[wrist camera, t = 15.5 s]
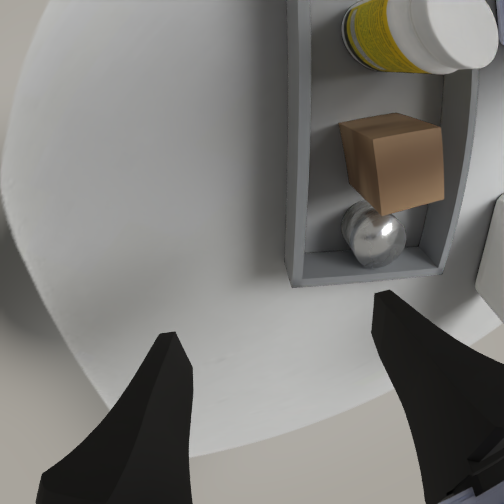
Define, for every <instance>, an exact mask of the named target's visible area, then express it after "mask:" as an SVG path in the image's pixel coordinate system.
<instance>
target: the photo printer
mask: <svg viewBox="0 0 504 504" xmlns="http://www.w3.org/2000/svg"><path fill="white" fill-rule="evenodd" d="M475 289H476V291H477V292H478V294H479V295H480V296H481V297H482V298H483V299H484V300H485V302H486V303H487V304H488V305H489V307H490V308H491V309H492V310H493V311H494V312H495V314H496V315H497V316H498V317H499V319H500V320H501V321H502V322H503V323H504V194H502V195H501V196H500V197H499V199H498V200H497V202H496V205H495V208H494V212H493V216H492V220H491V224H490V228H489V232H488V236H487V240H486V244H485V248H484V252H483V256H482V260H481V263H480V267H479V271H478V275H477V278H476V283H475Z"/></svg>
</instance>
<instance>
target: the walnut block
mask: <svg viewBox="0 0 504 504" xmlns="http://www.w3.org/2000/svg"><path fill="white" fill-rule="evenodd" d="M339 128H340V133H341V138H342V143H343V149H344V154H345V160H346V165H347V171H348V177H349V184H350V185H351V186H352V187H353V188H354V189H355V190H356V191H357V192H358V193H359V194H360V195H361V196H362V197H363V198H364V199H365V200H366V201H367V202H368V203H369V204H370V205H371V206H372V207H373V208H374V209H375V210H376V211H377V212H378V213H379V214H380V215H381V216H384V215H388V214H392V213H395V212H399V211H403V210H406V209H410V208H414V207H417V206H421V205H424V204H428V203H432V202H435V201H439V200H443V199H444V164H443V146H442V133H441V127H439V126H436V125H433V124H430V123H427V122H424V121H421V120H418V119H415V118H412V117H409V116H406V115H402V114H399V113H391V114H385V115H379V116H373V117H367V118H362V119H357V120H352V121H347V122H342V123H339Z"/></svg>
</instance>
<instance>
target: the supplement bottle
mask: <svg viewBox="0 0 504 504" xmlns="http://www.w3.org/2000/svg"><path fill="white" fill-rule="evenodd" d="M341 30H342V37H343V41H344V43H345V46H346V48H347V49H348V51H349V52H350V54H351V55H352V56H353V57H354V58H355V59H356V60H357V61H358V62H359V63H361V64H362V65H363V66H365V67H367V68H369V69H372V70H375V71H380V72H404V73H423V74H449V73H452V72H455V71H457V70H458V69H480V68H483V67H485V66H487V65H488V64H490V63H491V61H492V60H493V59H494V57H495V55H496V52H497V49H498V29H497V24H496V21H495V18H494V16H493V13H492V11H491V9H490V7H489V5H488V4H487V2H486V1H485V0H362V1H359V2H357V3H356V4H354V5H353V6H351V7H350V8H349V10H348V11H347V12H346V14H345V16H344V18H343V21H342V28H341Z"/></svg>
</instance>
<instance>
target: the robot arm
mask: <svg viewBox="0 0 504 504" xmlns="http://www.w3.org/2000/svg"><path fill="white" fill-rule="evenodd" d="M496 5H497V16H498V31H499V40H500V42H501V44H502V45H504V0H496ZM371 334H372V337H373V340H374V343H375V346H376V348H377V351H378V354H379V357H380V359H381V361H382V363H383V365H384V367H385V369H386V371H387V373H388V375H389V378H390V380H391V382H392V384H393V386H394V388H395V390H396V392H397V394H398V396H399V399H400V401H401V403H402V406H403V408H404V410H405V413H406V417H407V420H408V423H409V426H410V429H411V433H412V436H413V440H414V444H415V448H416V452H417V456H418V461H419V466H420V470H421V476H422V482H423V488H424V497H425V502H426V504H504V364H502V363H500V362H497V361H495V360H493V359H491V358H489V357H487V356H485V355H483V354H481V353H479V352H477V351H475V350H473V349H471V348H470V347H468V346H466V345H465V344H463V343H461V342H460V341H458V340H456V339H455V338H453V337H452V336H450V335H449V334H447V333H446V332H444V331H443V330H442V329H440V328H439V327H437V326H436V325H435V324H433V323H432V322H431V321H429V320H428V319H427V318H425V317H424V316H423V315H421V314H420V313H419V312H417V311H416V310H415V309H414V308H412V307H411V306H410V305H409V304H407V303H406V302H405V301H404V300H402V299H401V298H400V297H399V296H397V295H396V294H395V293H394V292H392V291H391V290H386V291H382V292H378V293H375V295H374V309H373V320H372V331H371ZM192 401H193V368H192V365H191V363H190V361H189V359H188V357H187V355H186V353H185V351H184V349H183V347H182V345H181V343H180V341H179V338H178V336H177V334H176V332H168V333H161V334H159V336H158V337H157V339H156V340H155V342H154V344H153V345H152V347H151V349H150V351H149V352H148V354H147V356H146V357H145V359H144V361H143V362H142V364H141V366H140V367H139V369H138V371H137V372H136V374H135V376H134V377H133V379H132V380H131V382H130V384H129V385H128V387H127V388H126V389H125V391H124V392H123V394H122V395H121V397H120V398H119V400H118V401H117V403H116V404H115V405H114V407H113V408H112V409H111V411H110V412H109V413H108V414H107V416H106V417H105V418H104V419H103V420H102V422H101V423H100V424H99V425H98V426H97V427H96V428H95V429H94V430H93V431H92V432H91V433H90V434H89V435H88V437H87V438H86V439H85V440H84V441H83V442H82V443H80V445H78V446H77V447H76V448H75V449H74V450H73V451H72V452H71V453H69V454H68V455H67V456H66V457H64V458H63V459H62V460H61V461H59V462H58V463H57V464H55V465H54V466H52V467H51V468H50V469H48V470H47V471H45V472H44V473H43V474H42V476H41V480H40V484H39V489H38V493H37V498H36V504H193V503H192V495H191V485H190V472H189V435H190V423H191V412H192Z"/></svg>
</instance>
